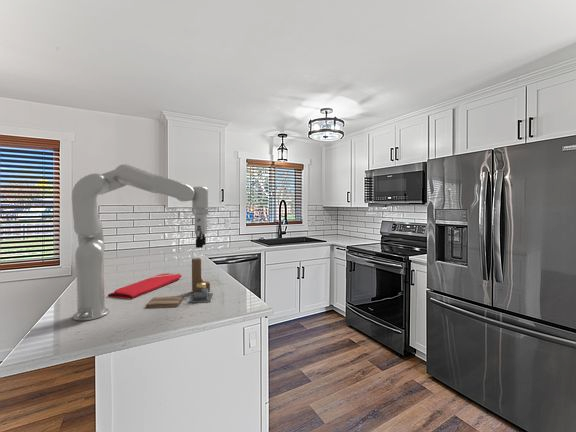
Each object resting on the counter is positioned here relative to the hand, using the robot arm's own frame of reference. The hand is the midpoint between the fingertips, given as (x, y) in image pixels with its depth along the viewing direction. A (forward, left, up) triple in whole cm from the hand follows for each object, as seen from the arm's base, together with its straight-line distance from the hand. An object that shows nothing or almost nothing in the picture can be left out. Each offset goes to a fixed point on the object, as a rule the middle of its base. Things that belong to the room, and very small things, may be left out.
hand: (200, 246), depth 145 cm
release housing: (0, 0, -26) cm, 26 cm away
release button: (0, 0, -21) cm, 21 cm away
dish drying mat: (+26, +33, -27) cm, 50 cm away
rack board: (-5, +16, -26) cm, 31 cm away
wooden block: (+13, +2, -27) cm, 30 cm away
